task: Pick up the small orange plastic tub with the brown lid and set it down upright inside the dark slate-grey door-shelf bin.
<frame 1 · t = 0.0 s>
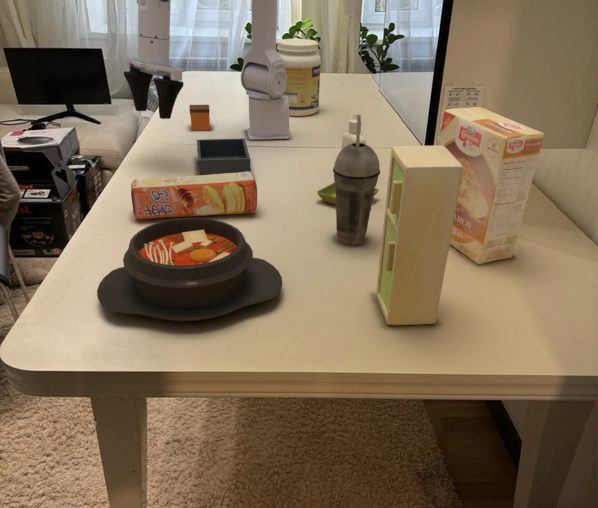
hand: (152, 114, 118), 11 cm above the table, tool pointing down, fingers open, 7 cm apart
beverage cup: (350, 240, 98), on the table
saucer: (347, 202, 112), on the table
supplement tub: (296, 111, 162), on the table
casserole: (192, 296, 83), on the table
shelf bin: (223, 168, 124), on the table
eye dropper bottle: (351, 174, 123), on the table
snack package: (196, 214, 105), on the table
coffeecake box: (466, 242, 99), on the table
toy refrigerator: (401, 310, 81), on the table
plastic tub: (200, 128, 147), on the table
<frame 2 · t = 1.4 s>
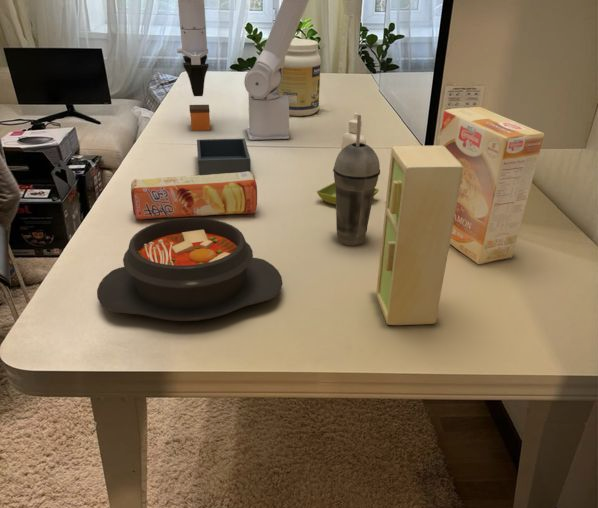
hand: (197, 92, 142), 8 cm above the table, tool pointing down, fingers open, 7 cm apart
nothing on the table moved.
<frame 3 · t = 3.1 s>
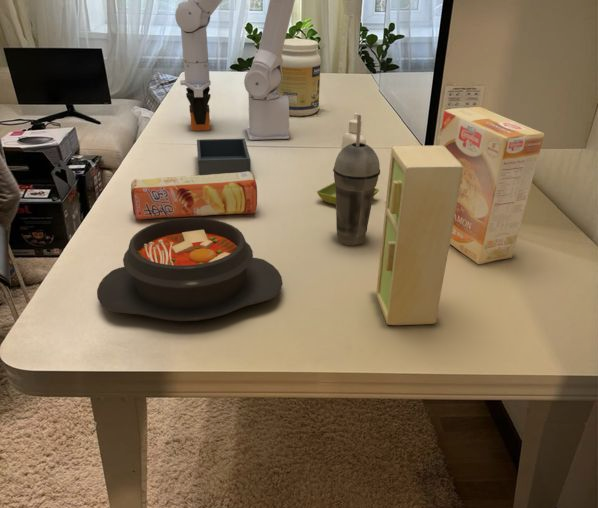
hand: (200, 121, 146), 2 cm above the table, tool pointing down, fingers closed on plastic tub, 4 cm apart
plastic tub: (200, 128, 147), on the table, touching gripper
everything else where it was.
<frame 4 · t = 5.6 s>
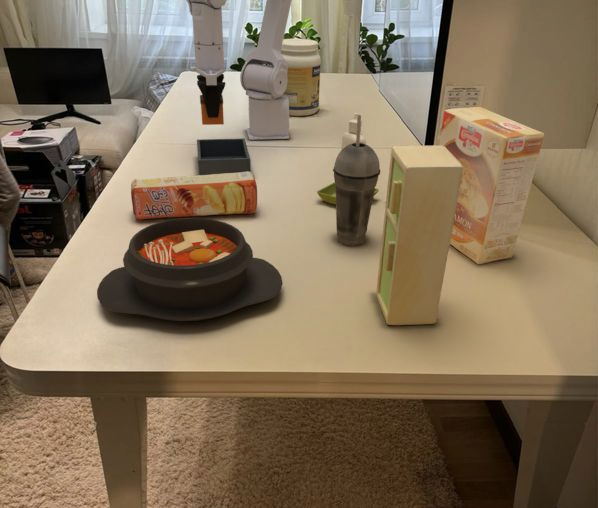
hand: (212, 114, 126), 8 cm above the table, tool pointing down, fingers closed on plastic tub, 4 cm apart
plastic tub: (212, 122, 127), point 7 cm above the table, touching gripper
everything else where it was.
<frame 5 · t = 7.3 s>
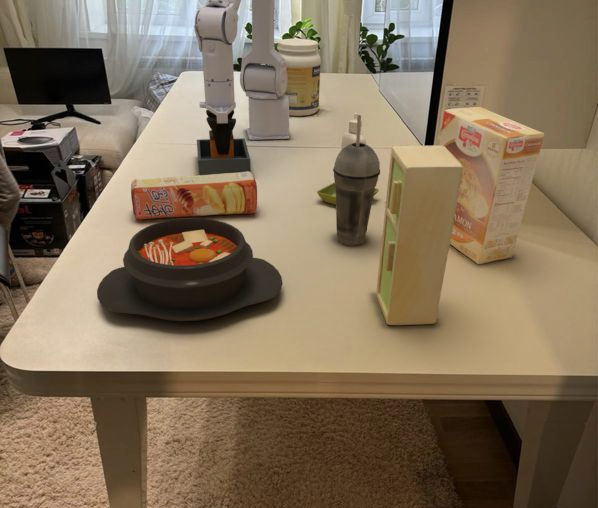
hand: (222, 150, 122), 4 cm above the table, tool pointing down, fingers closed on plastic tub, 4 cm apart
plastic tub: (222, 157, 123), point 2 cm above the table, touching gripper
everything else where it was.
when the fingers open (2 cm above the table, at t = 8.3 s): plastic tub stays where it is, resting on shelf bin.
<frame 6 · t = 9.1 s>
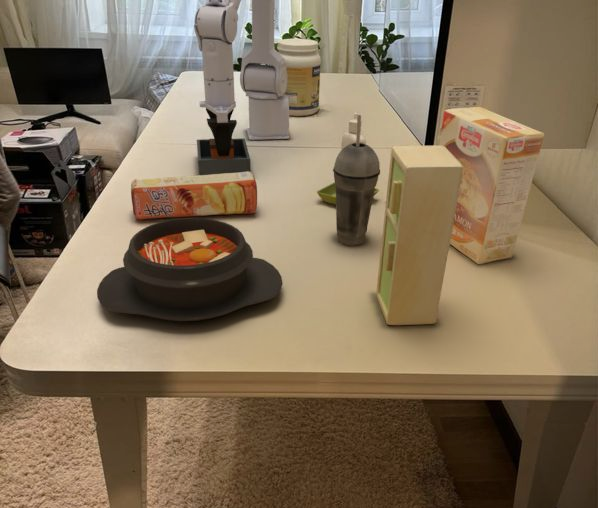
hand: (222, 149, 122), 4 cm above the table, tool pointing down, fingers open, 7 cm apart
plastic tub: (222, 165, 124), resting on shelf bin
everything else where it was.
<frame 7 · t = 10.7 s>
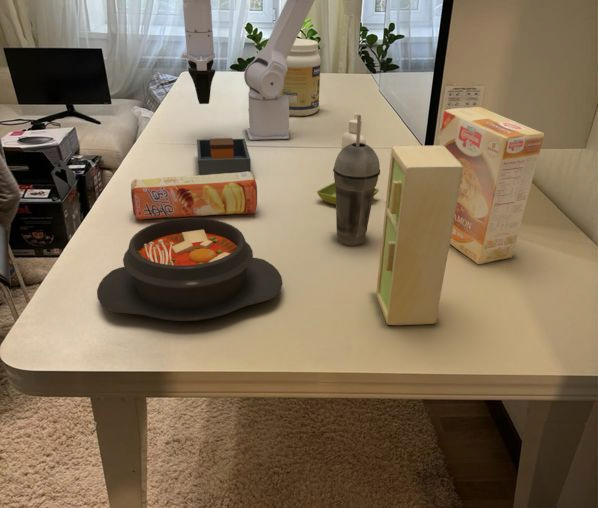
hand: (203, 99, 133), 9 cm above the table, tool pointing down, fingers open, 7 cm apart
nothing on the table moved.
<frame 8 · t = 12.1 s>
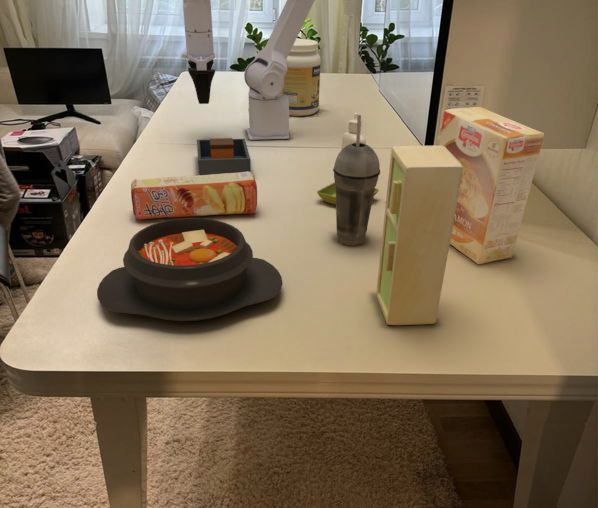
hand: (203, 99, 133), 9 cm above the table, tool pointing down, fingers open, 7 cm apart
nothing on the table moved.
at the end: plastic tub inside the target area in the shelf bin (0.1 cm from its centre), point 0.5 cm above the shelf bin's base; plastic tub tilted 0°; the gripper is holding nothing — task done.
